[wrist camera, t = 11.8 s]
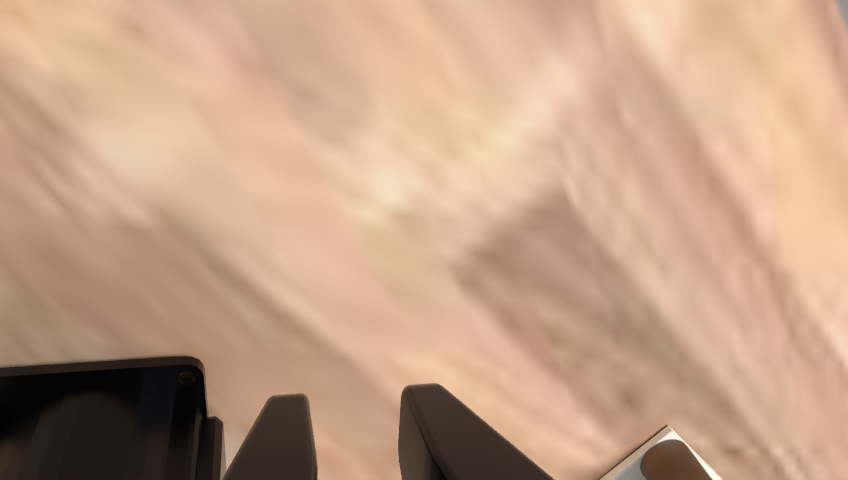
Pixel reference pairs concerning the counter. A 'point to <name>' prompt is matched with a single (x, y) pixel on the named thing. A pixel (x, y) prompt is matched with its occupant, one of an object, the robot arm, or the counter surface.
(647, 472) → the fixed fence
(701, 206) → the counter surface
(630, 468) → the card
